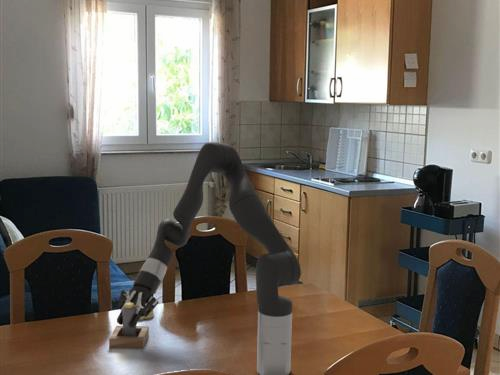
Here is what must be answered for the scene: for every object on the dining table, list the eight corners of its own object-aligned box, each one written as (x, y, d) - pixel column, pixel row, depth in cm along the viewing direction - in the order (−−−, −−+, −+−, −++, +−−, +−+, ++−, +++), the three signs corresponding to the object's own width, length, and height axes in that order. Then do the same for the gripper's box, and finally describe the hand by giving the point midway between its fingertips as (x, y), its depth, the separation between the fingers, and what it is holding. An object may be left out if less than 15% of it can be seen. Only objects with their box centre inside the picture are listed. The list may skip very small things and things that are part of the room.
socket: (143, 348, 175) (142, 339, 174) (109, 348, 175) (109, 338, 174) (148, 335, 185) (148, 326, 184) (116, 334, 185) (116, 325, 184)
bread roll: (124, 314, 203) (124, 303, 203) (149, 311, 207) (149, 300, 206) (130, 322, 196) (130, 311, 195) (156, 319, 199) (156, 307, 199)
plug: (134, 338, 178) (134, 306, 176) (121, 338, 178) (121, 306, 176) (137, 333, 182) (137, 301, 180) (124, 332, 182) (123, 301, 180)
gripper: (127, 266, 187) (100, 314, 178) (163, 273, 180) (137, 324, 171) (138, 278, 192) (113, 326, 183) (174, 285, 185) (149, 335, 176)
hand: (125, 324), depth 177 cm, fingers closed on plug, 4 cm apart
